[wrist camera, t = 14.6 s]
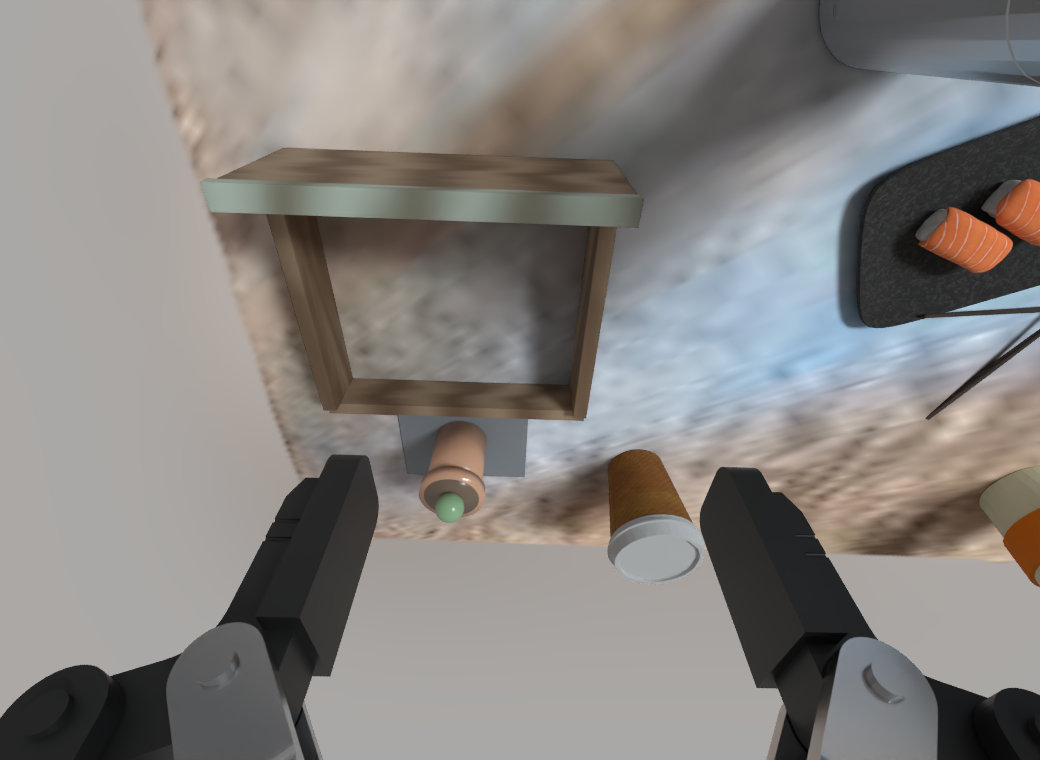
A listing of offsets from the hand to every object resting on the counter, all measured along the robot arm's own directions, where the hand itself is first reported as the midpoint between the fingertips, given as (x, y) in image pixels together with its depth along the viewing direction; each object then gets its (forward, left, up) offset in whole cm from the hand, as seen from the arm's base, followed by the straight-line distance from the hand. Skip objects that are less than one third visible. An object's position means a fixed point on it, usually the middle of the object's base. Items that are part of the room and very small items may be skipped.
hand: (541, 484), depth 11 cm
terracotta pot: (+6, +28, -30) cm, 41 cm away
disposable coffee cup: (-14, +32, -30) cm, 46 cm away
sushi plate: (-44, +7, -31) cm, 54 cm away
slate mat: (+6, +28, -30) cm, 42 cm away
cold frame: (+6, +10, -30) cm, 32 cm away
